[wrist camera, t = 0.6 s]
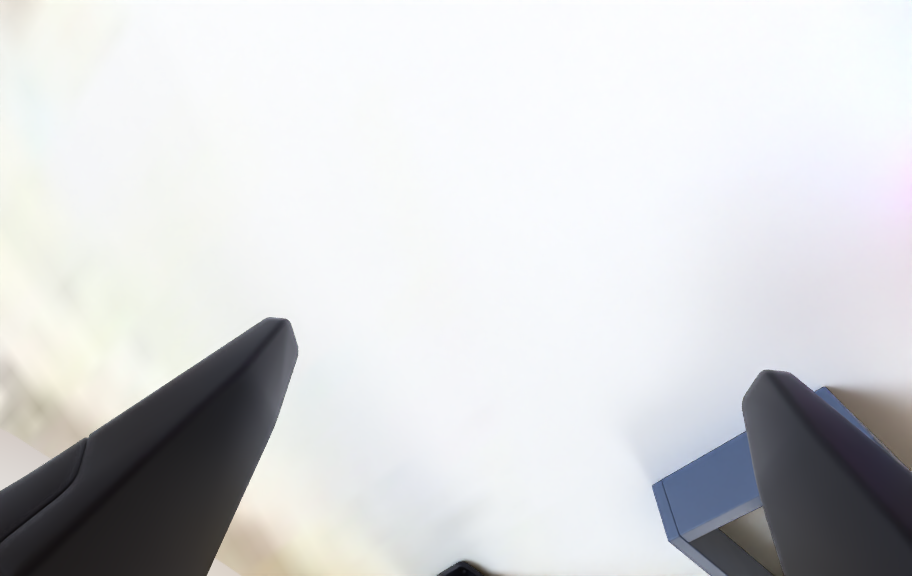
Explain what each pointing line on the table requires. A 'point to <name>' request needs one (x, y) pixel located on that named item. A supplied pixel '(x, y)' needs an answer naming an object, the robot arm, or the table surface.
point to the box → (721, 501)
